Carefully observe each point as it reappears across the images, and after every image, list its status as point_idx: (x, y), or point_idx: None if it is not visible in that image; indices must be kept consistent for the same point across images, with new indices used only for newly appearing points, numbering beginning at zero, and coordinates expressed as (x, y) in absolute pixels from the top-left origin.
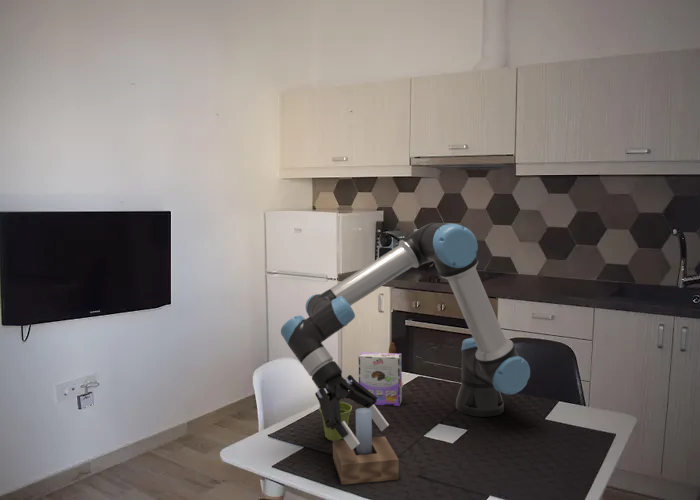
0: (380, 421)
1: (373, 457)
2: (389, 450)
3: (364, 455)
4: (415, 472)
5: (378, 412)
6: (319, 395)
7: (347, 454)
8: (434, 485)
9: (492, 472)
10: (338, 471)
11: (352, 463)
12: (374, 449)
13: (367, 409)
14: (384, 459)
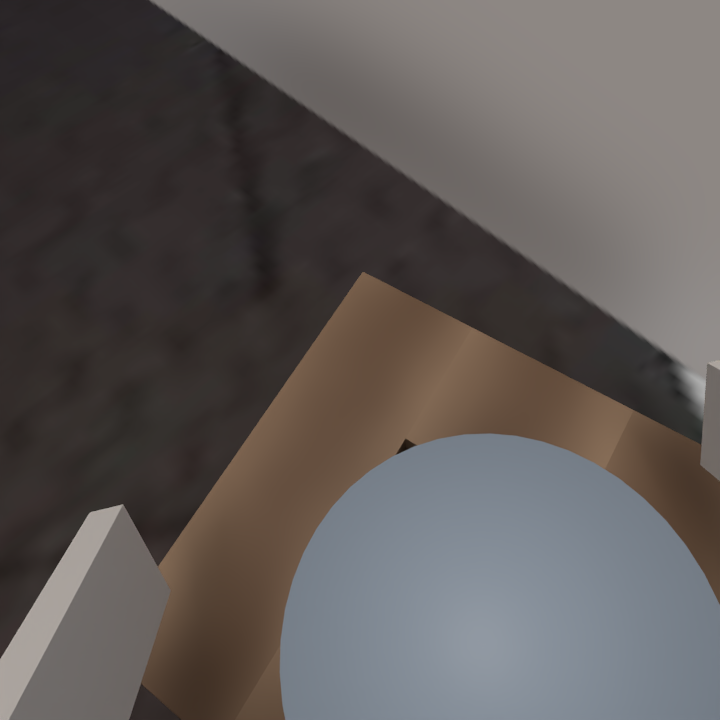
0: (108, 617)
1: (478, 406)
2: (298, 411)
3: None
4: (250, 324)
5: (6, 701)
6: None
7: None
8: (294, 189)
9: (35, 126)
10: None
11: (687, 442)
12: None
13: (355, 641)
14: (436, 331)
